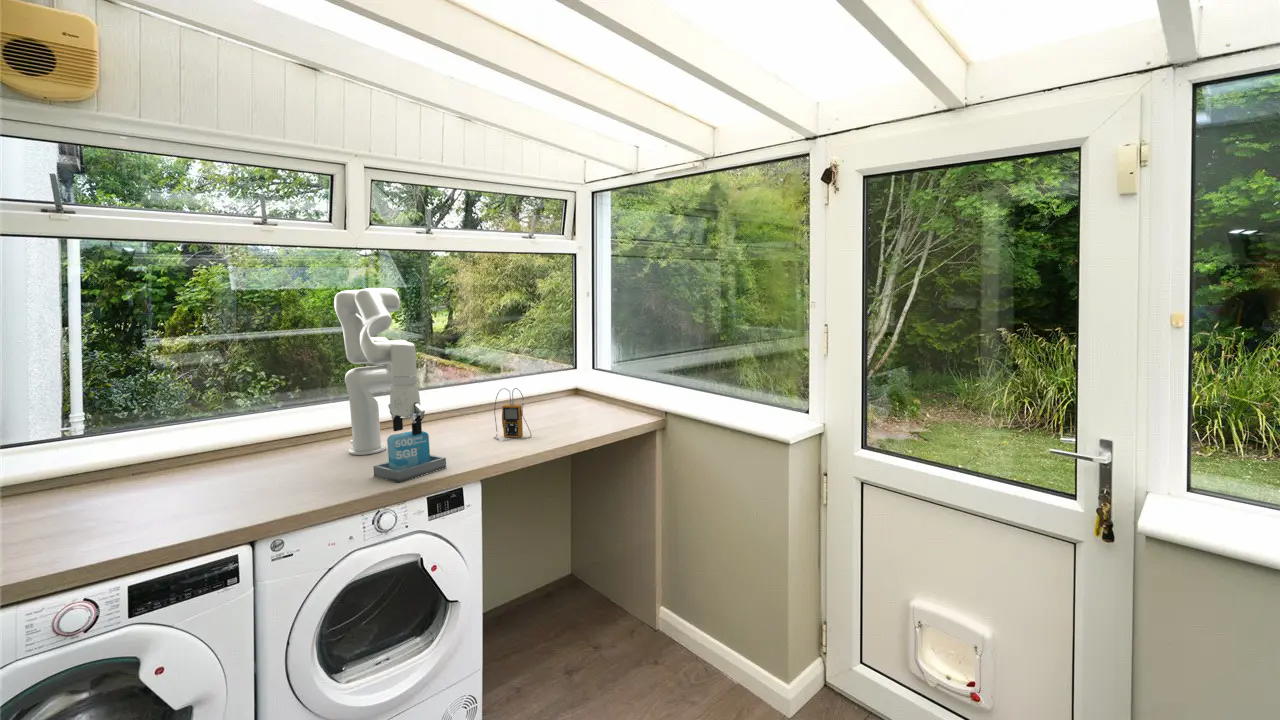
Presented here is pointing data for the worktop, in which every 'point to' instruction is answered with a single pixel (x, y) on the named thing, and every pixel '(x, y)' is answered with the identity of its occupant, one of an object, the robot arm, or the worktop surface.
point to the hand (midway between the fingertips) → (407, 432)
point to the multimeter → (512, 419)
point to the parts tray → (409, 470)
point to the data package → (408, 450)
